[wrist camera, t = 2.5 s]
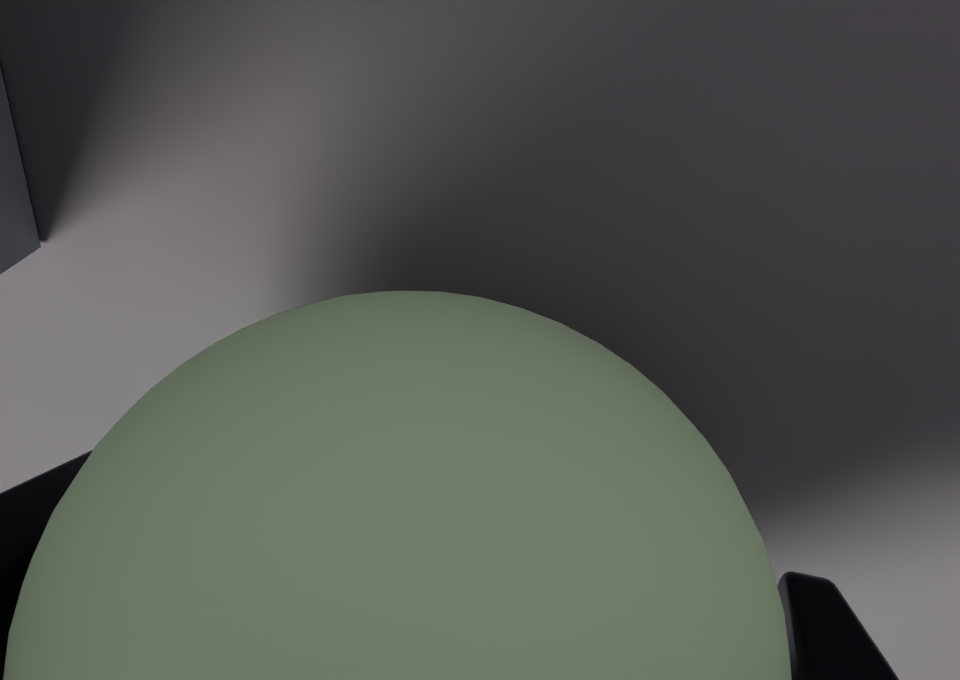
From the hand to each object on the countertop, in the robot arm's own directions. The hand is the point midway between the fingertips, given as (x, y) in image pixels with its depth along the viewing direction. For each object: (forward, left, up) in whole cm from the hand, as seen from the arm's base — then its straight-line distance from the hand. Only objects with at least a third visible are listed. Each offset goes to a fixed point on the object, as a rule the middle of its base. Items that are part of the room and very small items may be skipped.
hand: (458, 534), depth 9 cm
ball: (0, 0, -2) cm, 2 cm away
